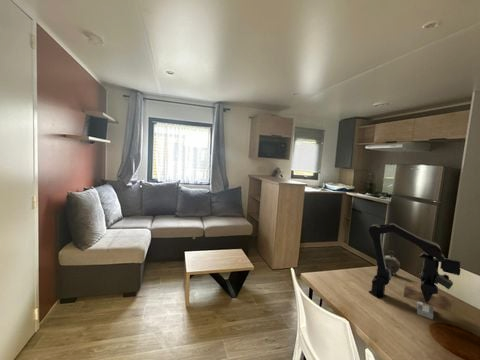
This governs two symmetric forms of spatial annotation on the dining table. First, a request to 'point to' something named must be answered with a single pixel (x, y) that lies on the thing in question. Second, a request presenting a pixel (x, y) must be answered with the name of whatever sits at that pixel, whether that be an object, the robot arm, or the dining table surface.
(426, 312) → the ridge stand
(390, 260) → the alarm clock
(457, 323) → the dining table surface
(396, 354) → the dining table surface
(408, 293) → the walnut bar
